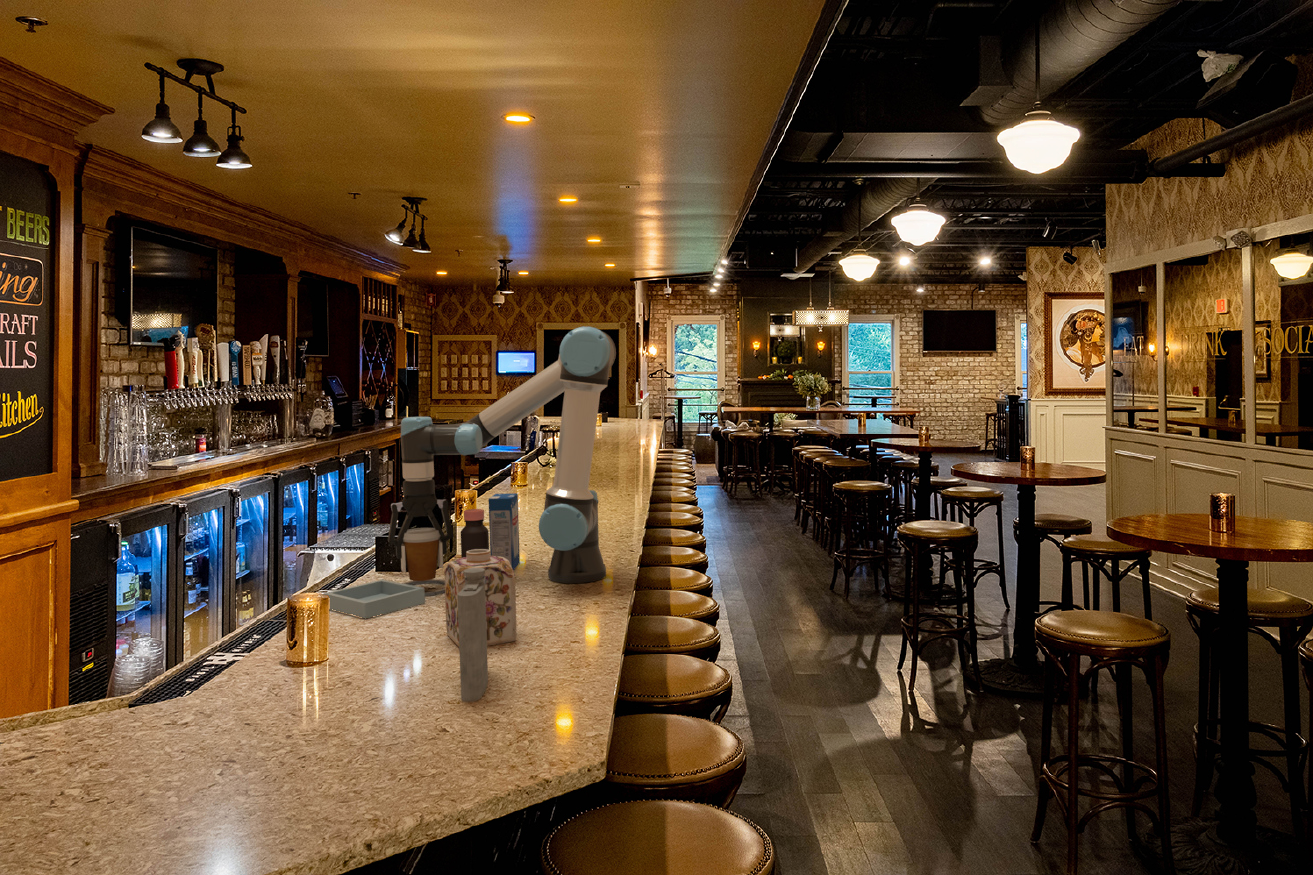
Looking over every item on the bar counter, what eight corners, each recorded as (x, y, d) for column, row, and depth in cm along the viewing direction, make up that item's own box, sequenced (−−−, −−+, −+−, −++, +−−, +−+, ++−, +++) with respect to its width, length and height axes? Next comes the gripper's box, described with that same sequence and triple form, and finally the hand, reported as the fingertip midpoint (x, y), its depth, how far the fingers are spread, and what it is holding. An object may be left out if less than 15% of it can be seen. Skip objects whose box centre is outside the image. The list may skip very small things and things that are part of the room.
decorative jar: (459, 651, 163) (456, 559, 161) (445, 635, 173) (441, 548, 172) (519, 641, 168) (516, 552, 167) (501, 626, 178) (498, 542, 177)
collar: (464, 587, 213) (464, 584, 213) (417, 600, 201) (417, 596, 201) (427, 579, 222) (427, 576, 221) (380, 591, 210) (380, 588, 210)
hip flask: (468, 669, 152) (464, 559, 151) (491, 667, 153) (487, 558, 152) (460, 702, 137) (455, 580, 135) (485, 700, 137) (481, 579, 136)
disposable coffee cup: (445, 580, 209) (443, 532, 208) (405, 584, 205) (403, 535, 204) (438, 572, 217) (437, 526, 217) (400, 576, 213) (398, 529, 213)
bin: (424, 603, 198) (424, 587, 198) (365, 619, 186) (364, 603, 185) (383, 593, 208) (382, 579, 208) (324, 608, 195) (323, 593, 195)
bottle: (457, 592, 208) (454, 511, 206) (472, 585, 214) (470, 507, 213) (480, 594, 205) (477, 513, 204) (495, 587, 212) (493, 508, 210)
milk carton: (513, 570, 230) (511, 498, 229) (490, 571, 230) (488, 498, 229) (519, 562, 240) (517, 493, 239) (498, 563, 240) (495, 493, 239)
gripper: (458, 474, 217) (462, 561, 219) (372, 480, 209) (376, 570, 210) (464, 477, 210) (467, 567, 212) (375, 483, 202) (379, 577, 203)
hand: (422, 569), depth 211 cm, fingers closed on disposable coffee cup, 8 cm apart
